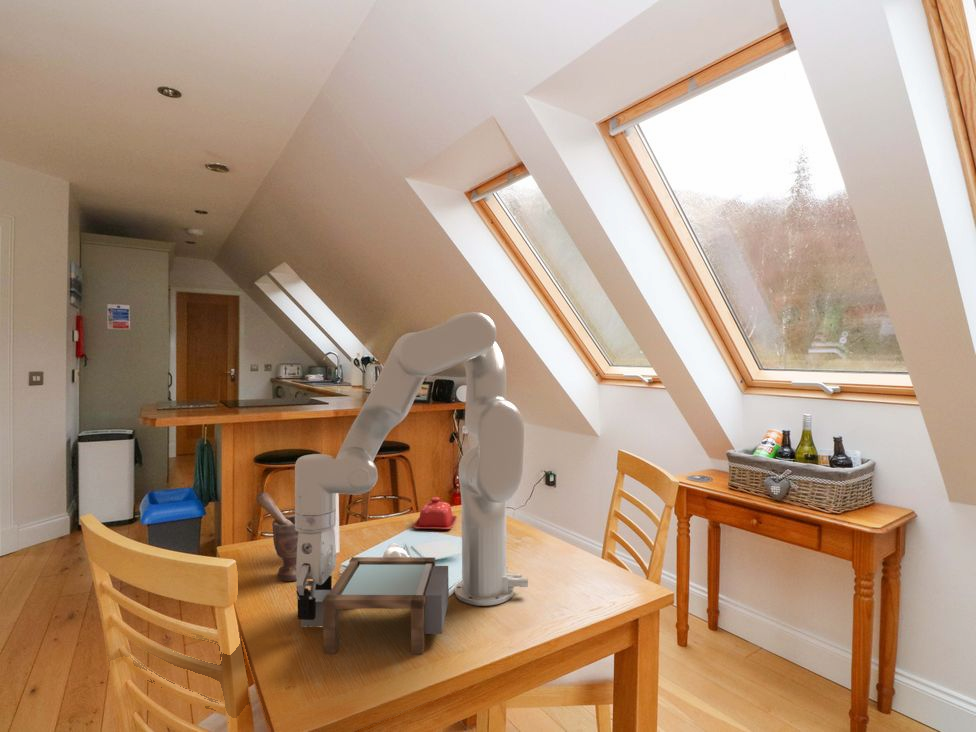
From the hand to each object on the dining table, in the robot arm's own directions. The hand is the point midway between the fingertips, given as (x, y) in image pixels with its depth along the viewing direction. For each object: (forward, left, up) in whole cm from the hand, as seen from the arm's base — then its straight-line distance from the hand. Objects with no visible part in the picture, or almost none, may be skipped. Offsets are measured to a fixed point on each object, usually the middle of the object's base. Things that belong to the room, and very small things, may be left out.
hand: (315, 606), depth 108 cm
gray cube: (0, 0, -3) cm, 3 cm away
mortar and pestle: (+14, -20, -3) cm, 24 cm away
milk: (+10, -34, -3) cm, 36 cm away
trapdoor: (-16, +2, -1) cm, 17 cm away
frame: (-14, +2, -3) cm, 15 cm away
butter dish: (-17, -57, -3) cm, 59 cm away
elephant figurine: (-11, -23, -3) cm, 26 cm away
